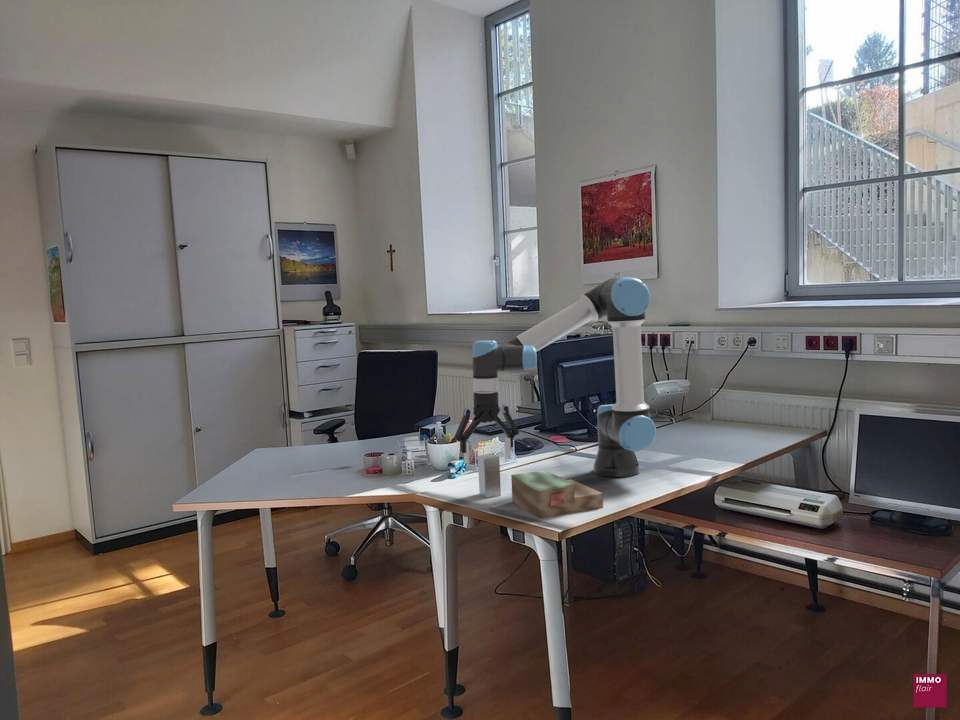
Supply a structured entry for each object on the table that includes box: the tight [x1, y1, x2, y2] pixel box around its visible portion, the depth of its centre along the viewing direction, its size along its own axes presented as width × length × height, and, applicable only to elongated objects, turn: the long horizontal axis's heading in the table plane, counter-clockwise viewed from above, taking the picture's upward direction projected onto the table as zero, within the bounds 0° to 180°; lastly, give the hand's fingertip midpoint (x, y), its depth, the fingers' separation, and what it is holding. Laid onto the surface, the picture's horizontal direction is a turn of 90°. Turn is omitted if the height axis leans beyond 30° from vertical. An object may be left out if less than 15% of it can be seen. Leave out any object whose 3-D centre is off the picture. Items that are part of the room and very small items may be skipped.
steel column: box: [477, 453, 502, 499], centre depth 222 cm, size 5×5×12 cm
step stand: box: [510, 469, 604, 519], centre depth 209 cm, size 20×19×8 cm
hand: (487, 460), depth 222 cm, fingers open, 13 cm apart
